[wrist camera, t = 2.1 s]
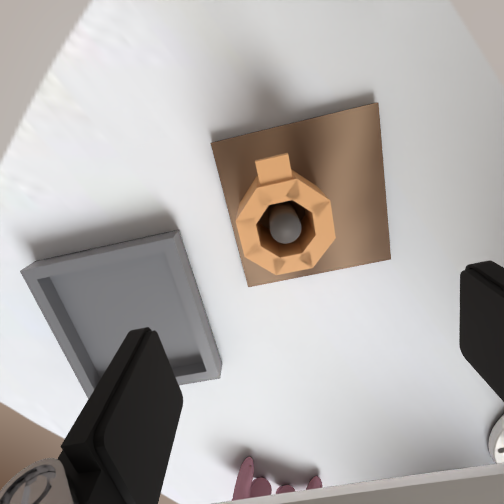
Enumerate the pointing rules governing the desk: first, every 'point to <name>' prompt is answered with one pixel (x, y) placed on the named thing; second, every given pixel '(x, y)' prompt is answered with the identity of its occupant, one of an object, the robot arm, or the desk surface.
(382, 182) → the base
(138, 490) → the robot arm
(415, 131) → the desk surface
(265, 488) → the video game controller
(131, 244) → the tray
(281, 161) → the collar
